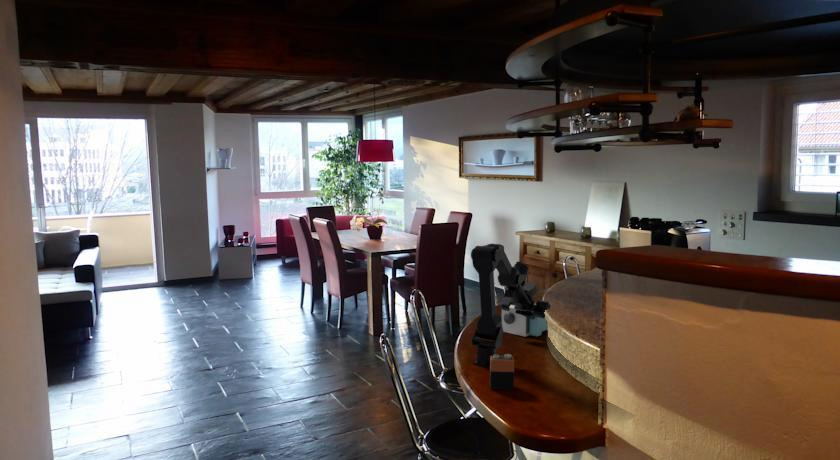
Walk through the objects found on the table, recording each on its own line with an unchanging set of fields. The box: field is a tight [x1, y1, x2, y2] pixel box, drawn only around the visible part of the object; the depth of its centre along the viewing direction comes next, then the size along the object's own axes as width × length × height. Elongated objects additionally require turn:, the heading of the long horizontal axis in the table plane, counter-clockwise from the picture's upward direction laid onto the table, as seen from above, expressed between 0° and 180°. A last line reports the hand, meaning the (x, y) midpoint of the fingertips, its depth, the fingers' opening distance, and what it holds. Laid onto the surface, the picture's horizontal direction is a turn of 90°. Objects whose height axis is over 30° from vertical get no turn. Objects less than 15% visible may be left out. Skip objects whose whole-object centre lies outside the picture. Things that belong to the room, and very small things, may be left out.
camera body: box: [501, 305, 530, 338], centre depth 240 cm, size 15×11×10 cm
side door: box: [529, 316, 548, 337], centre depth 235 cm, size 11×4×9 cm, turn 137°
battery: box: [489, 353, 515, 391], centre depth 179 cm, size 4×7×10 cm, turn 87°
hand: (533, 318), depth 231 cm, fingers closed, pressing on side door
